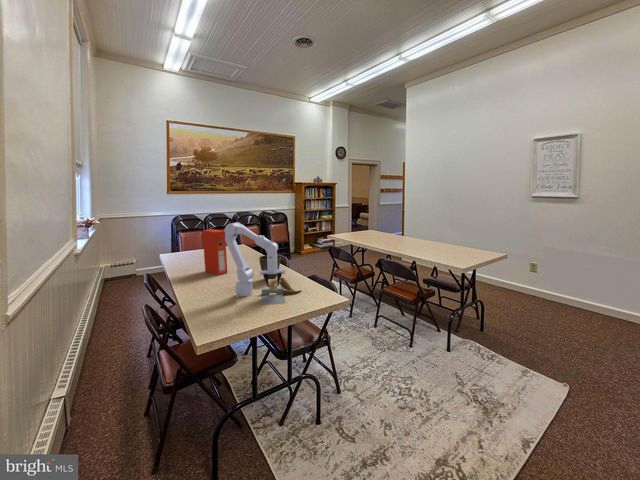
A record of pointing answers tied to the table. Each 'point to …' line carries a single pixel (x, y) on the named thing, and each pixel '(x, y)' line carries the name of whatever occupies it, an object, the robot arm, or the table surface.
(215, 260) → the file binder
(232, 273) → the table surface
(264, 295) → the wall board
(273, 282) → the cabinet block
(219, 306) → the table surface
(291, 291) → the hammer
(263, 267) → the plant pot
